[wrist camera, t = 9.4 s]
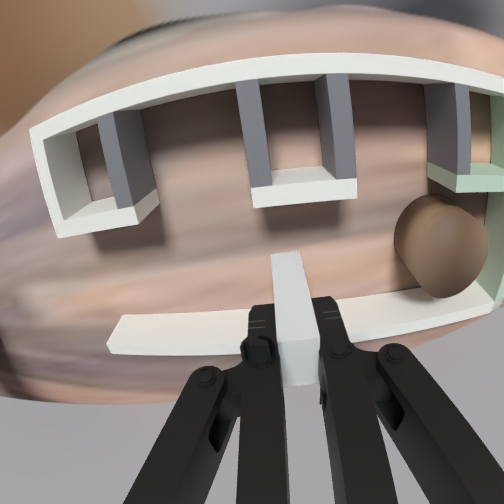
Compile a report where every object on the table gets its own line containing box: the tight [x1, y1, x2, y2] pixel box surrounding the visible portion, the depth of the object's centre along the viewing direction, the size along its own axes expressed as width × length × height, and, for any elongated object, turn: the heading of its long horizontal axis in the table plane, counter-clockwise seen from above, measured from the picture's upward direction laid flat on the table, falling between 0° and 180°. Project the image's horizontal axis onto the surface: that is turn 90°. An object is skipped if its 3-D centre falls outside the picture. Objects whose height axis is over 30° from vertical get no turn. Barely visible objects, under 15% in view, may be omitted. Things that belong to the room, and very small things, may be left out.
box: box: [29, 53, 504, 356], centre depth 16 cm, size 30×16×4 cm, turn 98°
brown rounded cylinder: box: [394, 194, 489, 298], centre depth 16 cm, size 6×6×4 cm
